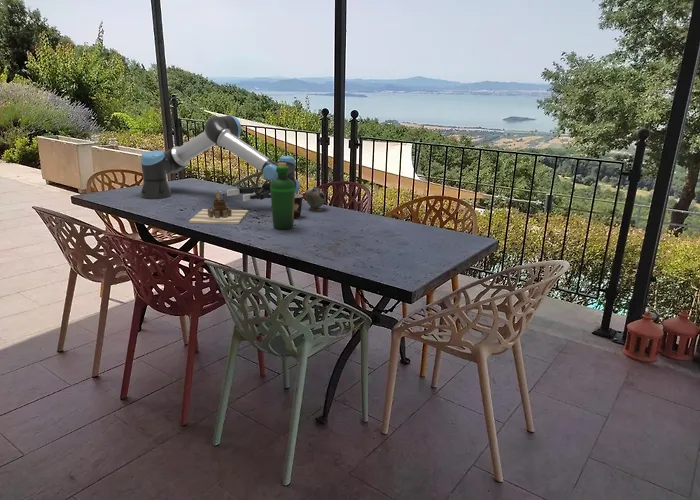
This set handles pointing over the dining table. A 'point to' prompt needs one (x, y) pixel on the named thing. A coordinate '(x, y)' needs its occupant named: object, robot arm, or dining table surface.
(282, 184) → the bottle
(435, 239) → the dining table surface
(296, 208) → the coffee mug
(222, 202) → the utensil holder
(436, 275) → the dining table surface
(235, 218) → the ring collar board
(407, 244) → the dining table surface
